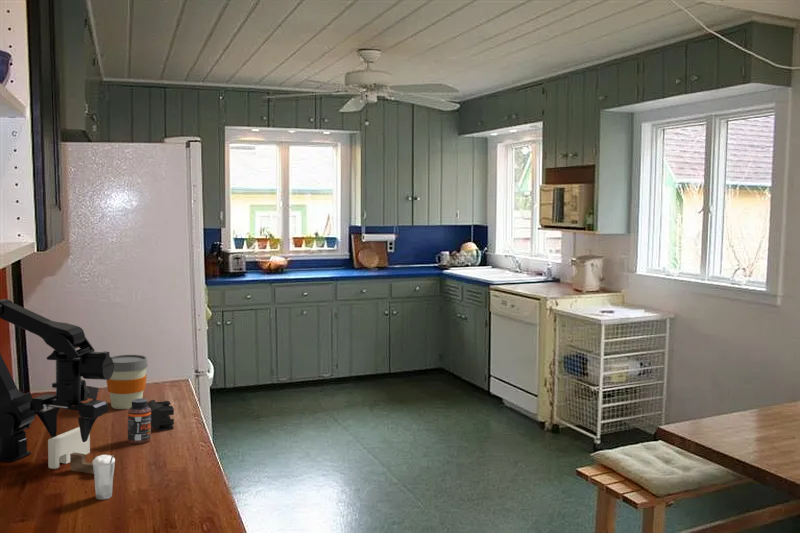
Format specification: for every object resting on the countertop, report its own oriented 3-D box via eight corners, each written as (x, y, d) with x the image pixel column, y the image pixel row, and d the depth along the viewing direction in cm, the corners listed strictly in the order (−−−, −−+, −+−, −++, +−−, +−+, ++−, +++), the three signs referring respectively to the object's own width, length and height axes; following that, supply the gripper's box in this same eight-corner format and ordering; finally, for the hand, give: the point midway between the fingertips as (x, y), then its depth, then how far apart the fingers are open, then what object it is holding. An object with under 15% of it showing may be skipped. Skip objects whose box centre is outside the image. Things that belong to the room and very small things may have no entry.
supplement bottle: (143, 445, 188) (143, 403, 187) (123, 443, 189) (122, 402, 188) (155, 438, 193) (155, 398, 192) (135, 436, 195) (135, 396, 194)
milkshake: (103, 503, 151) (103, 458, 150) (88, 497, 154) (87, 453, 153) (122, 496, 155) (121, 452, 154) (106, 491, 157) (106, 447, 157)
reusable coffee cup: (120, 398, 232) (120, 353, 231) (155, 401, 230) (155, 356, 228) (96, 408, 220) (96, 361, 219) (133, 412, 217) (133, 364, 216)
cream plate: (55, 468, 170) (55, 440, 169) (48, 467, 170) (48, 439, 170) (89, 452, 181) (89, 426, 181) (83, 451, 182) (83, 425, 181)
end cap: (143, 423, 207) (143, 400, 207) (168, 420, 210) (168, 398, 210) (147, 433, 198) (147, 409, 198) (174, 430, 202) (174, 406, 201)
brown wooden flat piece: (70, 470, 169) (70, 454, 169) (74, 468, 170) (73, 452, 170) (106, 475, 166) (105, 459, 166) (109, 473, 167) (109, 457, 167)
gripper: (122, 374, 179) (122, 434, 181) (61, 367, 184) (61, 426, 186) (92, 384, 169) (92, 448, 170) (27, 376, 174) (28, 438, 175)
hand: (69, 439), depth 175 cm, fingers open, 9 cm apart
